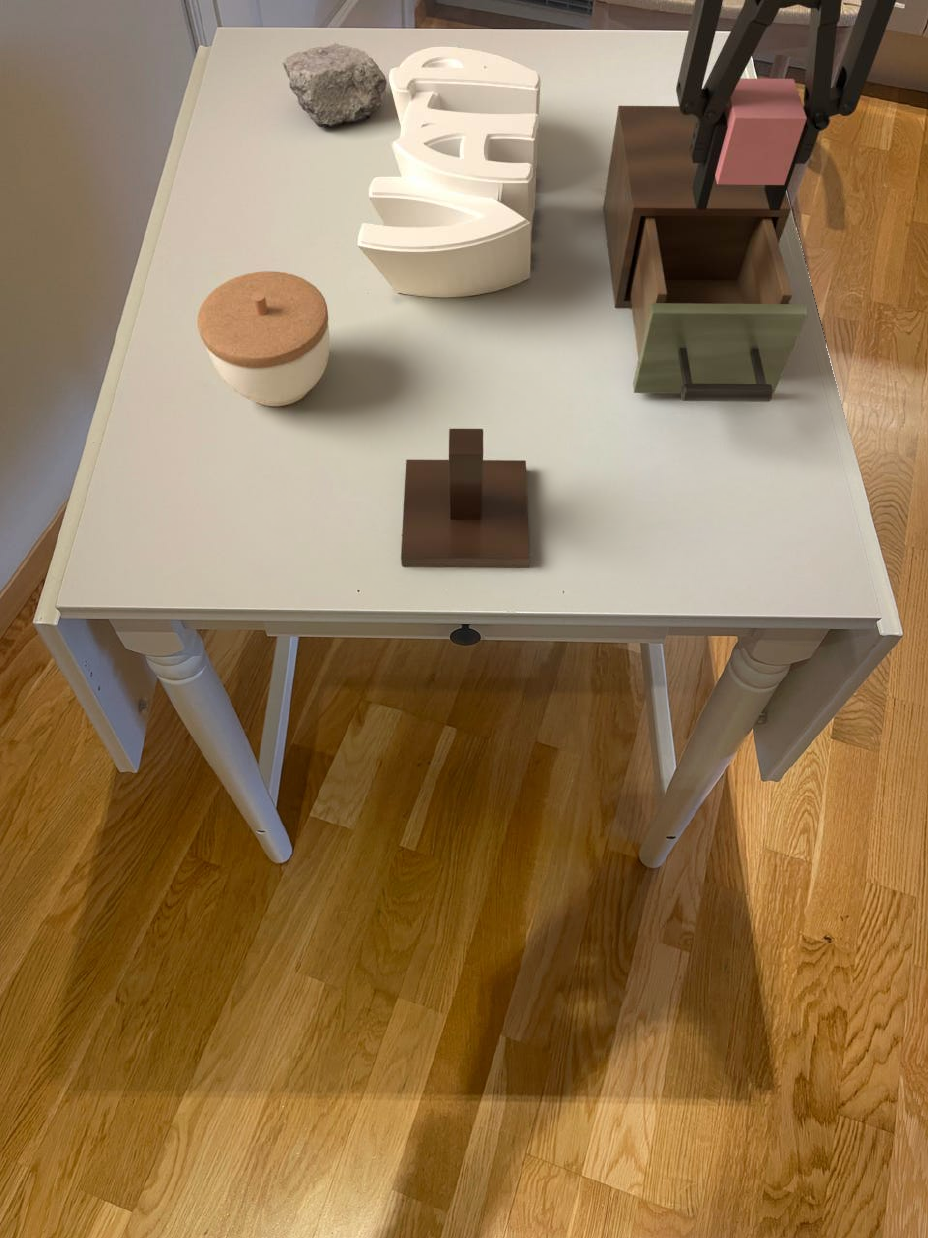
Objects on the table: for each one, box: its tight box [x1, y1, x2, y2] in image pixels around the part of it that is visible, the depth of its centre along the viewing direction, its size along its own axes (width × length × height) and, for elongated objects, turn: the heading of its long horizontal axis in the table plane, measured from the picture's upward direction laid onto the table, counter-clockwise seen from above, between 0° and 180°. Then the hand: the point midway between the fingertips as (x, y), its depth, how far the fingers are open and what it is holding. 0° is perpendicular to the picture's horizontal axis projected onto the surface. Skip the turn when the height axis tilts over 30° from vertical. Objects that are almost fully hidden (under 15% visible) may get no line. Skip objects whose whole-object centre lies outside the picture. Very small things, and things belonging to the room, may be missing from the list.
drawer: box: [628, 216, 808, 403], centre depth 76 cm, size 20×12×9 cm, turn 0°
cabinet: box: [602, 105, 792, 309], centre depth 84 cm, size 16×14×11 cm
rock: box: [282, 42, 388, 128], centre depth 99 cm, size 11×8×10 cm
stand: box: [400, 428, 530, 568], centre depth 68 cm, size 10×10×9 cm
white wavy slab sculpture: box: [357, 46, 541, 298], centre depth 87 cm, size 35×16×10 cm, turn 172°
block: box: [715, 77, 807, 185], centre depth 64 cm, size 5×5×5 cm
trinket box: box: [197, 270, 331, 407], centre depth 75 cm, size 11×11×9 cm
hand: (735, 198), depth 69 cm, fingers closed on block, 5 cm apart
